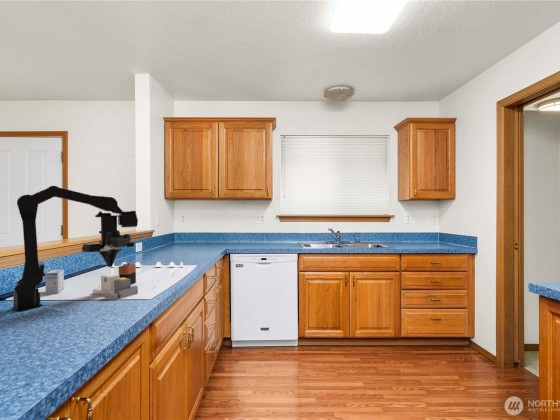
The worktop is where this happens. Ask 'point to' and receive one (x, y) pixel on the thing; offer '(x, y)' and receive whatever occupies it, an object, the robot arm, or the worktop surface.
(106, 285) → the block
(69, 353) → the worktop surface
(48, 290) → the medicine box
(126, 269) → the battery
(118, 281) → the relay block
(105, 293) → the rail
